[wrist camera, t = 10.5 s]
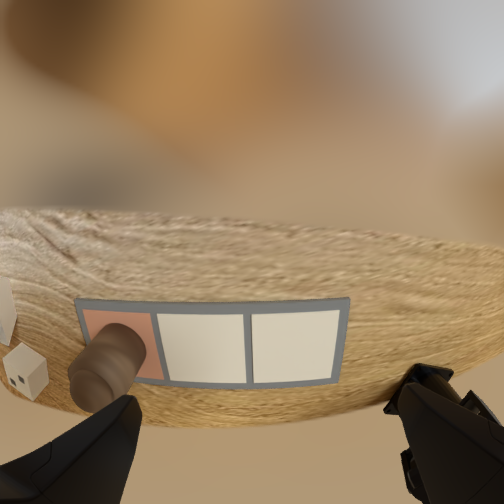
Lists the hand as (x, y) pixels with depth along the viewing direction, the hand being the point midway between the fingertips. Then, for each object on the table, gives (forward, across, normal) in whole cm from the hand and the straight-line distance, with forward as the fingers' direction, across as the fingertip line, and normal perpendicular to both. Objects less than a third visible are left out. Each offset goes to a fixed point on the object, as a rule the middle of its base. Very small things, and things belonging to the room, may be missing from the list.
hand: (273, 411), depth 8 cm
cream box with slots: (+12, +26, +10) cm, 30 cm away
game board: (+12, +5, +5) cm, 14 cm away
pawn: (+12, +12, +5) cm, 17 cm away
